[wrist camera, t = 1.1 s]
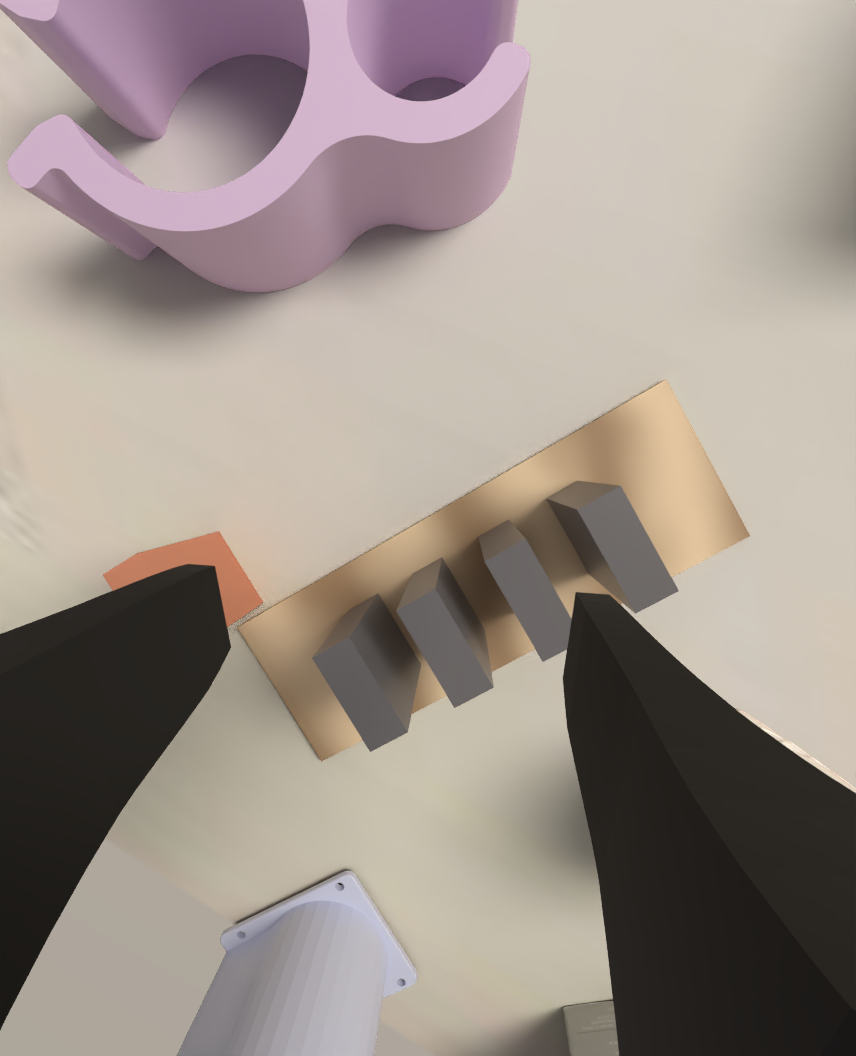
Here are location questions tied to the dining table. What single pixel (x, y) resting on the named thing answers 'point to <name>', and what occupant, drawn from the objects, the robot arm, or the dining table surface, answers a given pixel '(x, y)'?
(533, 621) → the domino
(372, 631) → the domino
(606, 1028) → the skincare box
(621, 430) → the cork strip
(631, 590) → the domino
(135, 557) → the rust domino
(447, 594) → the domino
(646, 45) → the dining table surface
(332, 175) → the clip
